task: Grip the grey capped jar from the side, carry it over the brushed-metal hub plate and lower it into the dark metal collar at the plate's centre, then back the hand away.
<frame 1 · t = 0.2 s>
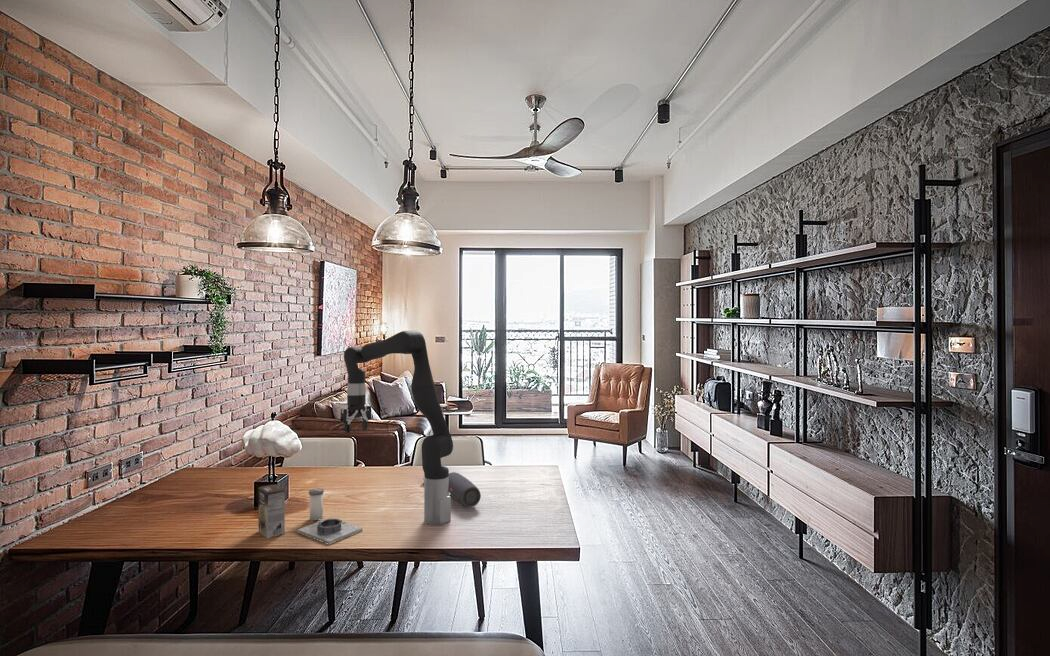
hand: (356, 431, 223), 29 cm above the table, tool pointing down, fingers open, 8 cm apart
coffee box: (271, 533, 188), on the table
bluetooth speaker: (461, 501, 222), on the table
toothbrush head: (431, 478, 255), on the table
hub plate: (330, 531, 189), on the table
grey capped jar: (316, 518, 202), on the table
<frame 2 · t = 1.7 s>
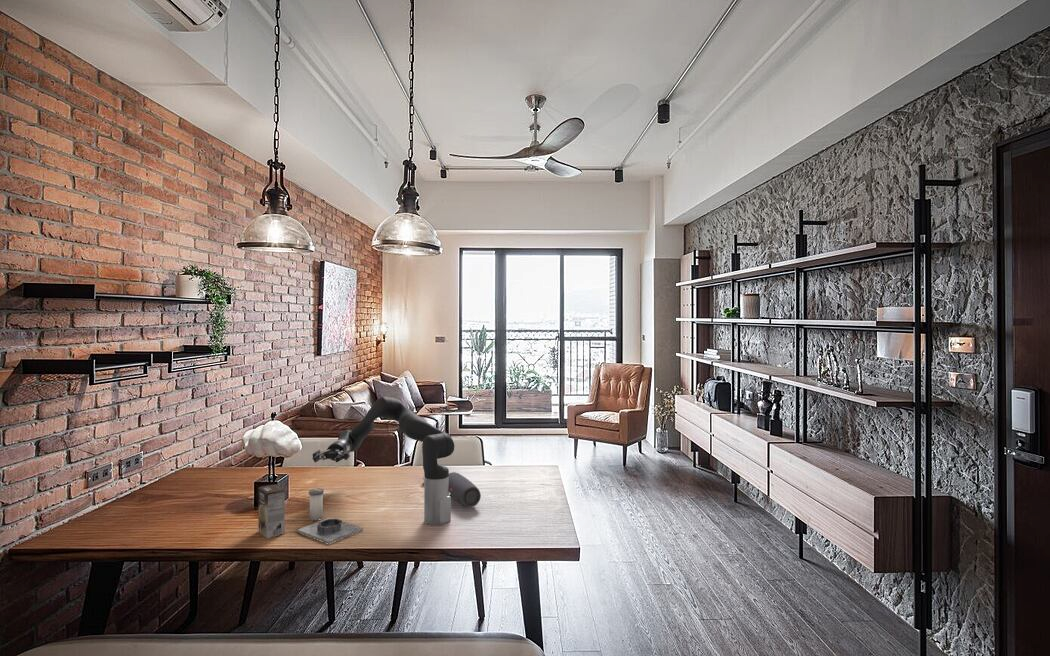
hand: (325, 459, 212), 20 cm above the table, tool horizontal, fingers open, 8 cm apart
nothing on the table moved.
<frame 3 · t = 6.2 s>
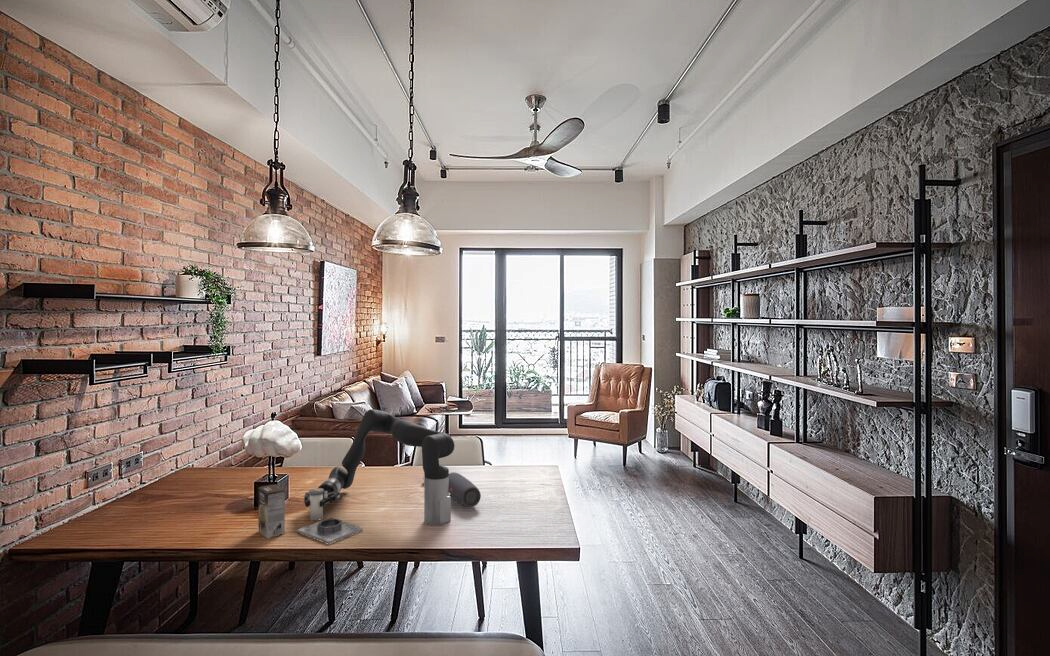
hand: (313, 504, 199), 7 cm above the table, tool horizontal, fingers closed on grey capped jar, 4 cm apart
grey capped jar: (316, 518, 202), on the table, touching gripper
everything else where it was.
when the fingers open (9 cm above the table, at t = 10.8 s): grey capped jar drops 1 cm, resting on hub plate.
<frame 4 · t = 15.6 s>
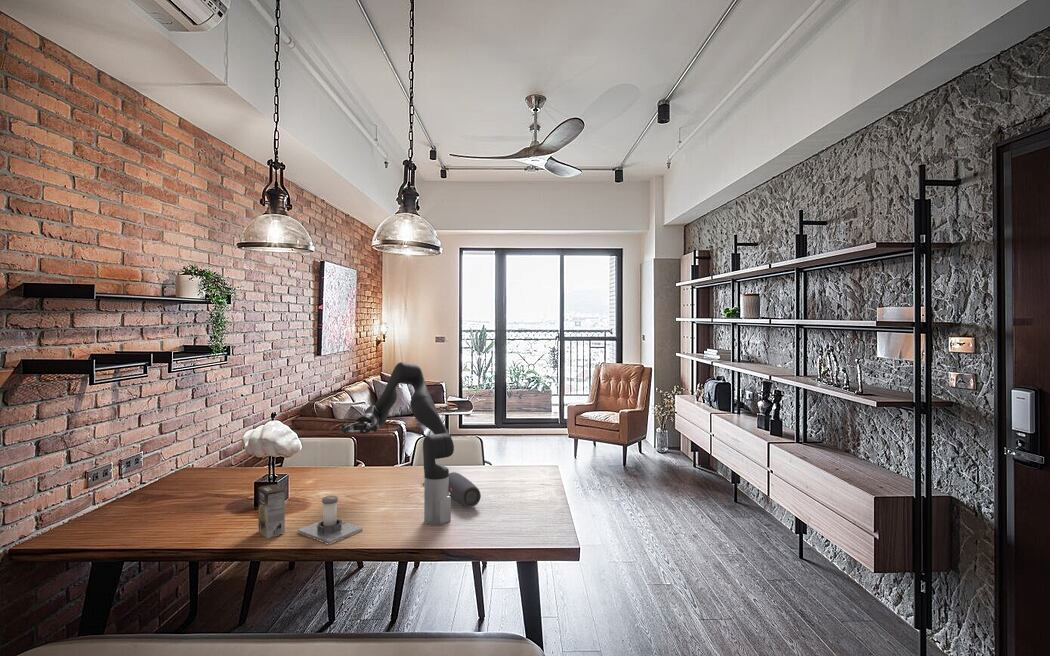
hand: (355, 431, 210), 32 cm above the table, tool horizontal, fingers open, 8 cm apart
grey capped jar: (330, 528, 189), point 1 cm above the table, touching hub plate
at the end: grey capped jar 0.1 cm off-centre on the hub plate, point 1.2 cm above the hub plate's base; grey capped jar tilted 1°; the gripper is holding nothing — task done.
